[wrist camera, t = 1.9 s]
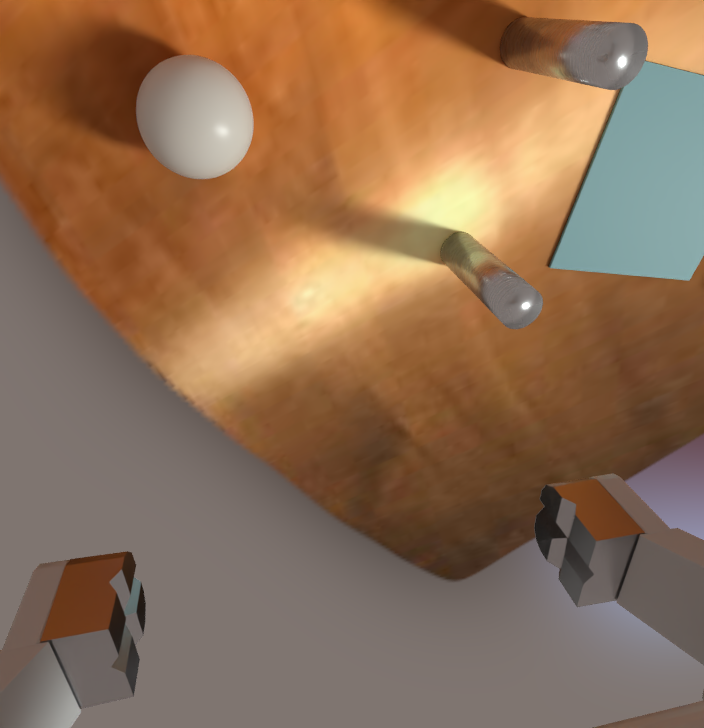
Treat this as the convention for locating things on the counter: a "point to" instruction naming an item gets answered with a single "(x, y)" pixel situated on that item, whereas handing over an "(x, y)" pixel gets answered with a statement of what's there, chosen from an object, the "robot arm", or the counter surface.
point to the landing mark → (643, 183)
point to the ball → (194, 116)
